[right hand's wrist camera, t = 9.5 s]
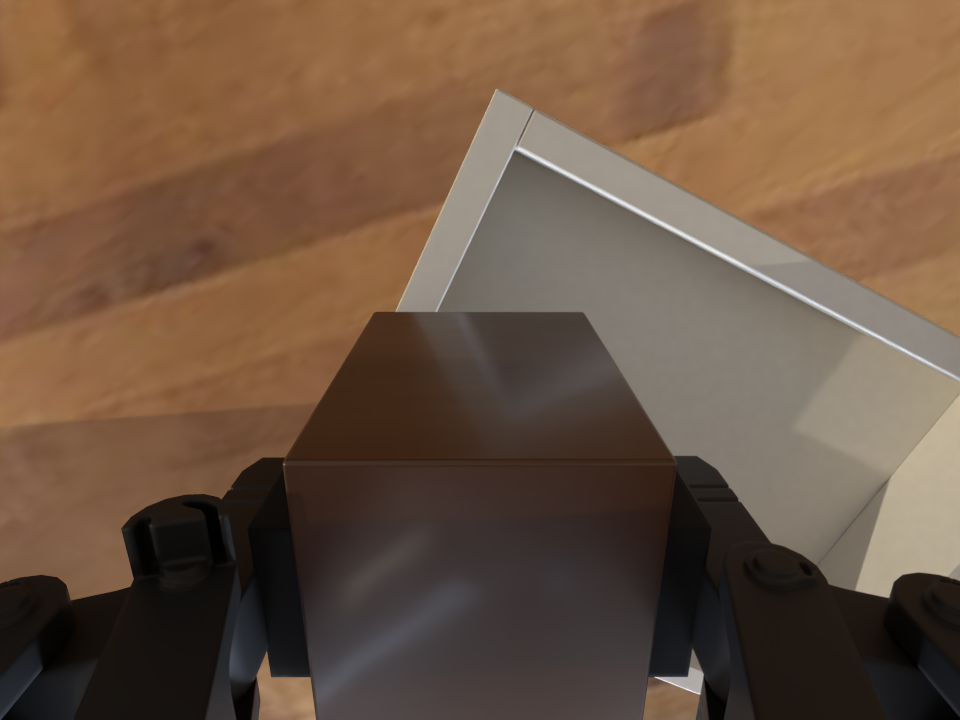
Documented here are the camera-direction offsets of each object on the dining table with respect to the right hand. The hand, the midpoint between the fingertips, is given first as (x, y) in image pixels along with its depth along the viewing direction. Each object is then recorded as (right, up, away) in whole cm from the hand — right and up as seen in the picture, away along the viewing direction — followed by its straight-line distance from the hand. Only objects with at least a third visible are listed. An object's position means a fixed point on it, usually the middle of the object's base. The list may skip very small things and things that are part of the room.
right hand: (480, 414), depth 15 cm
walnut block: (0, 0, 0) cm, 0 cm away
